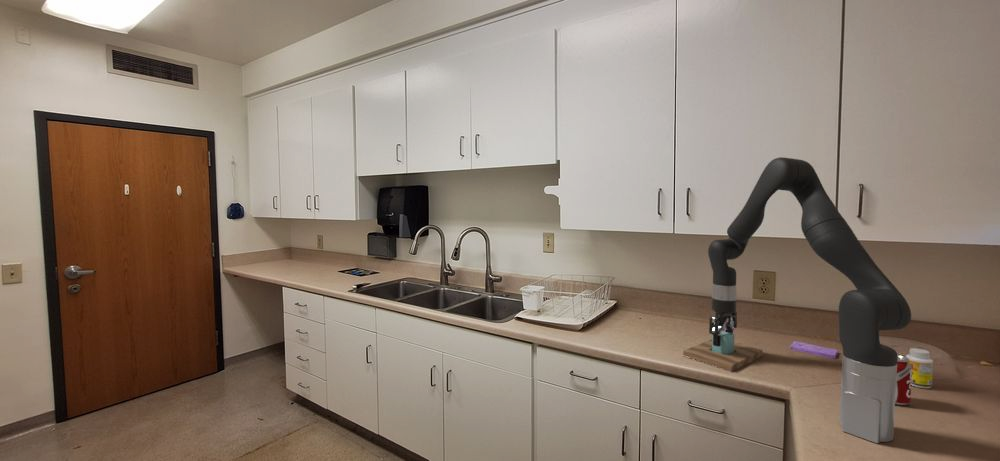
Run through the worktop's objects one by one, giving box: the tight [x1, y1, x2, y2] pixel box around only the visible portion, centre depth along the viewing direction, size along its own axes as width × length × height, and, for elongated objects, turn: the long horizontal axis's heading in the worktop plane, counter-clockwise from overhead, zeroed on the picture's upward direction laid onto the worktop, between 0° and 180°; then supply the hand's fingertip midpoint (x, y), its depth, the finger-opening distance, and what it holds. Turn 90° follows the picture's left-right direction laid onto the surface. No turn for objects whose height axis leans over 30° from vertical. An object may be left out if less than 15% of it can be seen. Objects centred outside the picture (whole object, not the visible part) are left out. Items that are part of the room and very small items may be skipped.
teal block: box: [711, 330, 735, 355], centre depth 138 cm, size 5×5×8 cm
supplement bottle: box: [905, 347, 934, 389], centre depth 115 cm, size 6×6×10 cm
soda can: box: [895, 354, 912, 406], centre depth 106 cm, size 7×7×12 cm
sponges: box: [790, 340, 839, 359], centre depth 142 cm, size 7×13×2 cm, turn 42°
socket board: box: [682, 338, 763, 373], centre depth 138 cm, size 22×16×2 cm
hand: (722, 343), depth 138 cm, fingers open, 8 cm apart
